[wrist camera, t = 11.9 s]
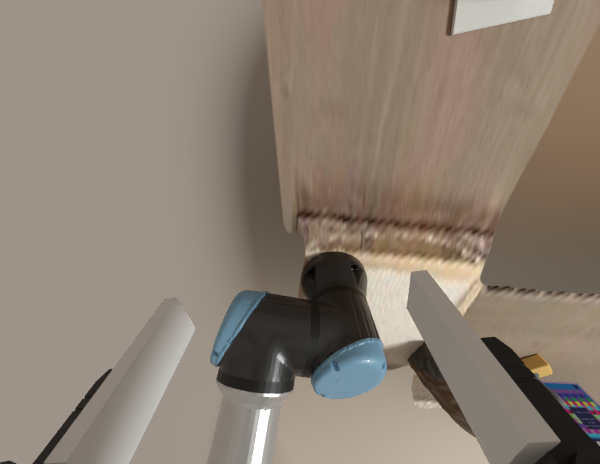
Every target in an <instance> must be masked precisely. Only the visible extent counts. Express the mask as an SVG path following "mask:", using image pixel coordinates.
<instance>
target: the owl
mask: <svg viewBox="0 0 600 464" xmlns="http://www.w3.org/2000/svg"><path fill="white" fill-rule="evenodd" d="M408 361H409V363H410V366H411V368H412V369H413V370H414V371H415V372H416V374H417V375H418V377H419V379H420V380H421V382H422V383H423V385H424V386H425V387H426V388H427V389H428V390H429V391H430V392H431V394H432V395H433V396H434V397H435V399H436V400H437V401H438V403H439V404H440V405H441V407H442V408H443V409H444V410H445V411H446V412H447V413H448V414H449V415H450V416H451V418H452V419H453V420H454V421H455V422H456V423H457V424H459V425H460V426H461V427H462V428H463V429H464V430H465V431H467V432H468V433H470V434H471V435H473V436H474V437H475V435H474V433H473V431H472V429H471V428H470V426H469V424H468V422H467V420H466V418H465V416H464V414H463V413H462V411H461V409H460V407H459V405H458V403H457V401H456V399H455V398H454V396H453V394H452V392H451V390H450V388H449V386H448V384H447V383H446V381H445V379H444V377H443V375H442V373H441V371H440V369H439V367H438V366H437V364H436V362H435V360H434V358H433V356H432V354H431V352H430V351H429V349H428V347H427V345H426V343H425V342H424V344H423V345H422V346H421V347H419V348H418V350H417V351H416V352H415V353H413V354H412V355H411V356H410V358H409V359H408Z"/></svg>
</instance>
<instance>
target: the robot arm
mask: <svg viewBox="0 0 600 464" xmlns="http://www.w3.org/2000/svg"><path fill="white" fill-rule="evenodd" d="M302 289H303V292H304V294H305V296H306V299H307V300H306V299H300V298H294V297H287V296H281V295H276V294H270V293H268V292H267V291H265V292H258V291H249V290H246V291H242V292H240V293H239V294H238V295H237V296H236V297H235V299H234V300H233V302H232V303H231V305H230V307H229V309H228V311H227V313H226V315H225V317H224V319H223V322H222V324H221V326H220V329H219V332H218V334H217V337H216V340H215V343H214V346H213V351H212V354H211V357H210V361H211V364H213V365H214V366H215V367H218V366H219V371H218V375H217V379H216V383H217V385H218V387H219V388H220V390H221V392H222V395H223V398H222V402H221V407H220V411H219V415H218V420H217V423H216V428H215V432H214V436H213V440H212V444H211V448H210V452H209V457H208V461H207V464H272V463H273V456H274V449H275V442H276V435H277V428H278V422H279V415H280V408H281V403H282V402H283V401H284V400H285V399H286V398H287V397H288V396H289V395H290V394H291V393H292V392H293V387H294V379H295V376H300V377H307V378H311V384H312V386H313V389H314V390H315V392H316V393H317V394H318V395H321V396H322V397H325V398H331V399H343V398H350V397H354V396H358V395H361V394H363V393H365V392H368V391H369V390H371V389H373V388H374V387H376V386H377V385H378V384H379V383H380V382H381V381H382V380H383V378H384V377H385V374H386V371H387V362H386V358H385V354H384V350H383V343H382V341H381V340H380V338H379V335H378V332H377V329H376V326H375V323H374V320H373V317H372V314H371V311H370V309H369V306H368V303H367V300H366V292H367V275H366V272H365V270H364V267H363V265H362V264H361V262H360V261H359V260H358V259H356V258H355V257H353V256H351V255H349V254H346V253H341V252H329V253H325V254H321V255H319V256H317V257H315V258H313V259H312V260H311V261H310V262H308V264H307V265H306V266H305V268H304V270H303V272H302ZM407 309H408V311H409V313H410V315H411V317H412V319H413V321H414V322H415V324H416V326H417V328H418V330H419V332H420V334H421V336H422V337H423V339H424V341H425V343H426V345H427V347H428V349H429V351H430V352H431V354H432V356H433V358H434V360H435V362H436V364H437V366H438V367H439V369H440V371H441V373H442V375H443V377H444V379H445V381H446V383H447V384H448V386H449V388H450V390H451V392H452V394H453V396H454V398H455V399H456V401H457V403H458V405H459V407H460V409H461V411H462V413H463V414H464V416H465V418H466V420H467V422H468V424H469V426H470V428H471V429H472V431H473V433H474V435H475V437H476V439H477V441H478V443H479V444H480V446H481V448H482V450H483V452H484V454H485V456H486V458H487V459H488V461H489V463H490V464H600V446H599V445H598V444H597V443H595V442H594V441H593V440H592V439H591V438H590V437H589V436H588V435H587V434H586V432H585V431H584V430H583V429H582V428H581V427H580V426H579V425H578V423H577V422H576V421H575V420H574V419H573V418H572V417H571V416H570V414H569V413H568V412H567V411H566V410H565V409H564V408H563V406H562V405H561V404H560V403H559V402H558V401H557V400H556V399H555V397H554V396H553V395H552V394H551V393H550V392H549V391H548V390H547V388H546V387H545V386H544V385H543V384H542V383H541V382H540V380H537V378H536V376H535V375H534V374H533V373H532V371H531V370H530V369H529V368H528V367H526V366H525V364H524V362H523V361H522V360H521V359H520V358H519V357H518V356H517V354H516V353H515V352H514V351H513V350H512V349H511V348H510V347H508V346H507V345H505V344H504V343H503V342H501V341H500V340H499V339H497V338H496V337H487V338H479V336H478V335H477V334H476V333H475V331H474V330H473V329H472V327H471V326H470V325H469V324H468V322H467V321H466V320H465V319H464V317H463V316H462V315H461V313H460V312H459V311H458V310H457V308H456V307H455V306H454V305H453V303H452V302H451V301H450V299H449V298H448V297H447V296H446V294H445V293H444V292H443V291H442V289H441V288H440V287H439V286H438V284H437V283H436V282H435V280H434V279H433V278H432V277H431V275H430V274H429V273H428V272H427V270H424V271H415V272H411V279H410V287H409V295H408V303H407ZM194 331H195V327H194V325H193V323H192V322H191V320H190V319H189V317H188V315H187V314H186V312H185V310H184V309H183V307H182V305H181V304H180V302H179V301H178V299H177V298H172V299H165V300H164V301H163V302H162V304H161V305H160V306H159V308H158V309H157V310H156V312H155V313H154V314H153V316H152V317H151V318H150V320H149V321H148V322H147V324H146V325H145V327H144V328H143V329H142V331H141V332H140V333H139V335H138V336H137V337H136V339H135V340H134V341H133V343H132V344H131V346H130V347H129V348H128V349H127V351H126V352H125V353H124V355H123V357H122V358H121V359H120V360H119V362H118V363H117V364H116V366H115V367H114V368H113V369H109V370H108V371H107V372H106V373H105V374H104V375H103V376H102V377H101V378H100V379H98V380H97V381H96V382H95V384H94V385H93V386H92V388H91V389H90V390H89V391H88V393H87V394H86V395H85V398H84V399H82V401H81V402H80V403H79V404H78V406H77V407H76V410H75V411H73V412H72V414H71V415H70V416H69V418H68V419H67V420H66V421H65V423H64V424H63V425H62V427H61V428H60V429H59V430H58V432H57V433H56V434H55V436H54V437H53V438H52V440H51V441H50V442H49V444H48V445H47V446H46V447H45V449H44V450H43V451H42V453H41V454H40V455H39V456H38V458H37V459H36V460H35V461H34V463H33V464H129V462H130V460H131V458H132V456H133V454H134V452H135V450H136V448H137V446H138V444H139V442H140V440H141V438H142V436H143V434H144V432H145V430H146V428H147V426H148V424H149V422H150V420H151V418H152V416H153V414H154V412H155V409H156V408H157V406H158V404H159V401H160V399H161V398H162V395H163V393H164V391H165V389H166V387H167V385H168V383H169V381H170V379H171V377H172V375H173V373H174V371H175V369H176V367H177V365H178V363H179V361H180V359H181V357H182V355H183V353H184V351H185V349H186V347H187V345H188V343H189V341H190V339H191V337H192V335H193V333H194ZM0 464H16V463H14V462H12V461H6V462H1V463H0Z"/></svg>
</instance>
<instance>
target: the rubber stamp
mask: <svg viewBox="0 0 600 464" xmlns="http://www.w3.org/2000/svg"><path fill="white" fill-rule="evenodd" d="M521 360H522V361H523V362H524V364H525V366H526V367H528V368H529V369H530V370H531V371H532V373H533V374H534V375H535V376H536V378H537V380H540V379H539V378H540V377H544V376H547V375H551V374H552V373H553V372H552V370H551V368H550V365H549V364H548V363H547V362H546V361H545V360H544V359H543V358H542V357H541V356H540V355H539V354H535V355H532V356H529V357H526V358H523V359H521ZM540 382H541V381H540ZM541 383H542V382H541ZM542 384H543V383H542ZM543 385H544V384H543ZM544 386H545V387H546V388H547V390H548V391H549V392H550V393H551V394H552V395H553V396H554V397H555V399H556V400H557V401H558V402H559V403H560V404H561V405H562V406H563V408H564V407H565V403H564V401H563V400H562V398H561V397H560V396H559V395H558V394H557V393H555V392H554V391H553V390H551V389H550V388H548V387H547V386H546V385H544Z"/></svg>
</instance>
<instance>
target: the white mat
mask: <svg viewBox="0 0 600 464" xmlns="http://www.w3.org/2000/svg"><path fill="white" fill-rule="evenodd" d="M553 2H554V0H455V6H454V13H453V21H452V28H451V35H456V34H461V33H465V32H470V31H475V30H479V29H484V28H489V27H493V26H498V25H502V24H507V23H512V22H516V21H521V20H526V19H530V18H535V17H540V16H544V15H547V14H550V12H551V9H552V6H553Z"/></svg>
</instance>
